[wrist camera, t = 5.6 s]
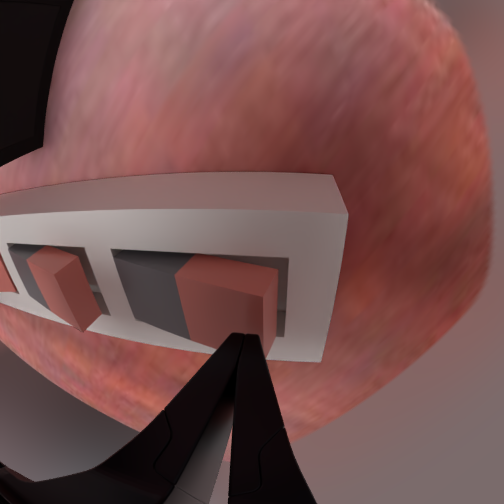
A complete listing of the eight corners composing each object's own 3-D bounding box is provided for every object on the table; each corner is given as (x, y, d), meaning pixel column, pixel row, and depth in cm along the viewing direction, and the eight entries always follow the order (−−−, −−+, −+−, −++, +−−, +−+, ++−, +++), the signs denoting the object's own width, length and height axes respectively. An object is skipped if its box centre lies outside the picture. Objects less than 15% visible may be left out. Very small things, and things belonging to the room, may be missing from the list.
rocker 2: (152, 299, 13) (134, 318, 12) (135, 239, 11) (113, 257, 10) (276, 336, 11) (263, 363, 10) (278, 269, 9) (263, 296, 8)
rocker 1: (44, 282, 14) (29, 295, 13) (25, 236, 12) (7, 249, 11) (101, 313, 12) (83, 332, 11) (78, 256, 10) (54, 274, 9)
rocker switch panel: (-6, 266, 19) (-30, 290, 15) (-30, 201, 15) (-59, 222, 12) (318, 302, 15) (320, 362, 12) (332, 174, 11) (348, 214, 8)
